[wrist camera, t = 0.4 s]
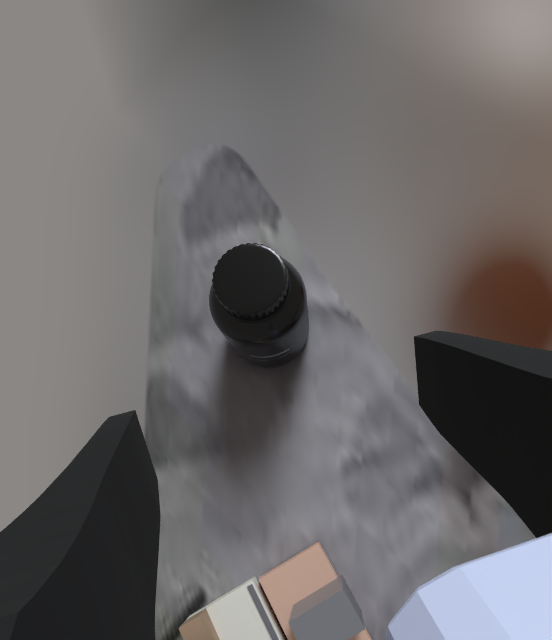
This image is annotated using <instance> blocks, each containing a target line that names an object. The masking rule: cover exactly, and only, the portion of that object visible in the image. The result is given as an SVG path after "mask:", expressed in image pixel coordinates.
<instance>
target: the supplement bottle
mask: <svg viewBox="0 0 552 640" xmlns="http://www.w3.org/2000/svg"><path fill="white" fill-rule="evenodd" d="M212 282H213V283H212V286H211V290H210V295H209V306H210V311H211V314H212V317H213V319H214V321H215V323H216V325H217V326H218V328H219V329H220V331H221V332H222V333H223V335H224V336H225V337H226V339H227V340H228V341H229V343H230V344H231V345H232V347H233V348H234V349H235V351H236V352H237V353H238V354H239V355H240V356H241V357H242V358H243V359H244V360H246V361H248V362H249V363H251V364H254V365H257V366H261V367H275V366H280V365H283V364H285V363H287V362H289V361H291V360H292V359H293V358H295V357H296V356H297V355H298V354H299V353H300V351H301V350H302V349H303V347H304V345H305V343H306V341H307V338H308V333H309V318H308V307H307V297H306V290H305V286H304V283H303V280H302V278H301V276H300V274H299V272H298V271H297V270H296V269H295V268H294V266H293V265H292V264H290V263H289V262H288V261H286V260H285V259H283V258H281V256H280V255H278V254H277V253H276V251H274V250H271V248H270V247H265V246H264V245H263V244H261V245H259V244H256V243H254V244H250V243H247V244H245V245H244V244H241V245H239V246H236V247H234V248H233V249H231V250H228V251H227V253H226V254H224V255H223V256H222V258H221V259H220V260H218V264H217V265H216V266H215V271H214V272H213V279H212Z"/></svg>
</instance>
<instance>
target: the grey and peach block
mask: <svg viewBox="0 0 552 640" xmlns="http://www.w3.org/2000/svg"><path fill="white" fill-rule="evenodd" d="M259 581H260V583H261V585H262V588H263V590H264V592H265V594H266V596H267V598H268V600H269V602H270V604H271V606H272V608H273V610H274V612H275V614H276V616H277V618H278V620H279V622H280V624H281V627H282V629H283V631H284V633H285V635H286V637H287V639H288V640H372V639H371V637H370V635H369V633H368V631H367V629H366V628H365V626H364V621H363V617H362V612H361V609H360V607H359V605H358V603H357V602H356V600H355V598H354V596H353V594H352V592H351V591H350V589H349V587H348V585H347V583H346V581H345V579H344V578H343V576H342V575H341V576H340V577H338V576H337V574H336V572H335V570H334V568H333V566H332V565H331V563H330V561H329V559H328V557H327V555H326V553H325V552H324V550H323V548H322V546H321V544H320V542H317V543H315V544H314V545H312V546H310V547H309V548H307V549H305V550H304V551H302V552H300V553H299V554H297V555H295V556H294V557H292V558H291V559H289V560H287V561H286V562H284V563H282V564H281V565H279V566H277V567H276V568H274V569H272V570H271V571H269V572H267V573H266V574H264V575H262V576H261V577H260V578H259Z"/></svg>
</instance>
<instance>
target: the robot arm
mask: <svg viewBox="0 0 552 640" xmlns="http://www.w3.org/2000/svg"><path fill="white" fill-rule="evenodd" d="M414 344H415V357H416V370H417V382H418V395H419V405H420V406H421V408H422V409H423V411H424V412H425V414H426V415H427V417H428V418H429V419H430V421H431V422H432V423H433V425H434V426H435V427H436V429H437V430H438V431H439V433H440V434H441V435H442V436H443V437H444V438H445V439H446V440H447V441H448V442H449V443H450V444H451V445H452V446H453V447H454V448H455V449H456V450H457V451H458V453H459V454H460V455H461V456H462V457H463V458H464V459H465V460H466V461H467V462H468V463H469V464H470V465H471V466H472V467H473V468H474V469H475V470H476V471H477V472H478V473H479V474H480V475H481V476H482V477H483V478H484V479H485V480H486V481H487V482H488V483H489V484H490V485H491V486H492V487H493V488H494V489H495V490H496V491H497V492H498V493H499V494H500V495H501V496H502V497H503V498H504V499H505V500H506V501H507V503H508V504H509V505H510V506H511V507H512V508H513V509H514V511H515V512H516V513H517V514H518V515H519V517H520V518H521V519H522V520H523V522H524V523H525V524H526V525H527V527H528V528H529V529H530V530H531V532H532V533H533V534H534V535H535V537H536V539H533V540H530V541H527V542H524V543H521V544H518V545H515V546H513V547H510V548H507V549H504V550H501V551H498V552H495V553H492V554H489V555H487V556H484V557H481V558H478V559H475V560H472V561H469V562H466V563H463V564H461V565H458V566H455V567H453V568H451V569H449V570H448V571H446V572H444V573H442V574H441V575H439V576H437V577H435V578H434V579H432V580H430V581H428V582H427V583H425V584H423V585H421V586H420V587H418V588H417V589H416V590H415V591H414V592H413V594H412V595H411V596H410V597H409V599H408V600H407V601H406V602H405V604H404V605H403V606H402V607H401V608H400V610H399V611H398V612H397V613H396V615H395V616H394V617H393V618H392V620H391V622H390V624H389V626H388V629H387V634H386V639H385V640H552V351H549V350H542V349H535V348H530V347H524V346H519V345H513V344H508V343H503V342H498V341H493V340H488V339H483V338H479V337H473V336H468V335H463V334H458V333H451V332H443V331H434V332H430V333H426V334H422V335H418V336H414ZM159 534H160V503H159V491H158V480H157V476H156V473H155V470H154V467H153V464H152V461H151V458H150V455H149V452H148V449H147V445H146V442H145V439H144V436H143V433H142V430H141V427H140V424H139V421H138V418H137V414H136V411H135V410H134V411H130V412H126V413H122V414H119V415H115V416H111V417H109V418H108V419H107V420H106V421H105V422H104V423H103V424H102V425H101V427H100V428H99V429H98V430H97V432H96V433H95V434H94V436H92V438H91V439H90V440H89V441H88V443H87V444H86V445H85V446H84V447H83V449H82V450H81V451H80V452H79V454H78V455H77V456H76V457H75V458H74V460H73V461H72V462H71V463H70V464H69V465H68V467H67V468H66V469H65V470H64V471H63V472H62V473H61V474H60V475H59V476H58V477H57V478H56V479H55V480H54V482H53V483H52V484H51V485H50V486H49V487H48V488H47V489H46V490H45V491H44V492H43V494H41V496H40V497H39V498H37V499H36V501H34V503H32V504H31V505H30V506H29V507H28V508H27V509H26V510H25V511H24V512H23V513H22V514H21V515H19V516H18V517H17V518H16V519H15V520H14V521H13V522H12V523H11V524H9V525H8V526H7V527H6V528H5V529H4V530H2V531H1V532H0V640H155V599H156V583H157V567H158V551H159Z"/></svg>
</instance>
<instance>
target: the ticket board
mask: <svg viewBox="0 0 552 640" xmlns="http://www.w3.org/2000/svg"><path fill="white" fill-rule="evenodd" d="M179 630H180V633H181V635H182V637H183V640H286V639H285V637H284V635H283V633H282V631H281V629H280V627H279V624H278V622H277V620H276V618H275V616H274V614H273V612H272V610H271V608H270V606H269V604H268V602H267V600H266V598H265V596H264V594H263V592H262V590H261V587H260V585H259V583H258V581H257V579H256V577H253V578H251V579H250V580H248V581H246V582H245V583H243V584H241V585H240V586H238V587H236V588H235V589H233V590H231V591H230V592H228V593H226V594H225V595H223V596H222V597H220V598H218V599H217V600H215V601H213V602H212V603H210V604H208V605H207V606H205V607H203V608H202V609H200V610H198V611H197V612H195V613H193V614H192V615H190V616H189V617H188V618H187V619H186V621H185V622H184V623H183V624H182V625H181V626H180V627H179Z"/></svg>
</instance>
